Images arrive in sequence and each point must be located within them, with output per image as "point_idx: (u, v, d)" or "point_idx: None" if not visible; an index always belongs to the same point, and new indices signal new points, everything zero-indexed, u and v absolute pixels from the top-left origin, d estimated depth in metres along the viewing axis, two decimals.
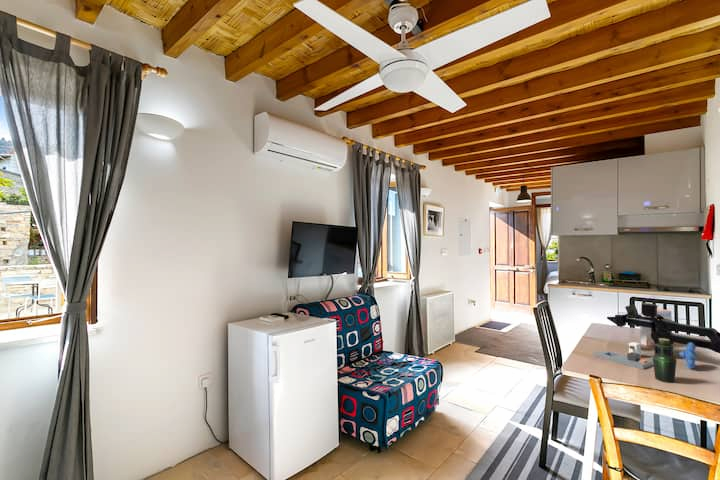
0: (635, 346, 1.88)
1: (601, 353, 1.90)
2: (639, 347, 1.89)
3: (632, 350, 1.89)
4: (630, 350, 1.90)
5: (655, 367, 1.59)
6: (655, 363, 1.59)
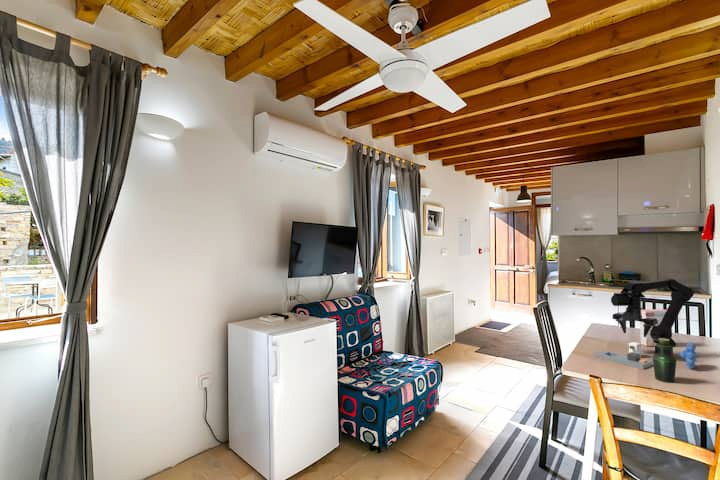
0: (635, 346, 1.88)
1: (601, 353, 1.90)
2: (639, 347, 1.89)
3: (632, 350, 1.89)
4: (630, 350, 1.90)
5: (655, 367, 1.59)
6: (655, 363, 1.59)
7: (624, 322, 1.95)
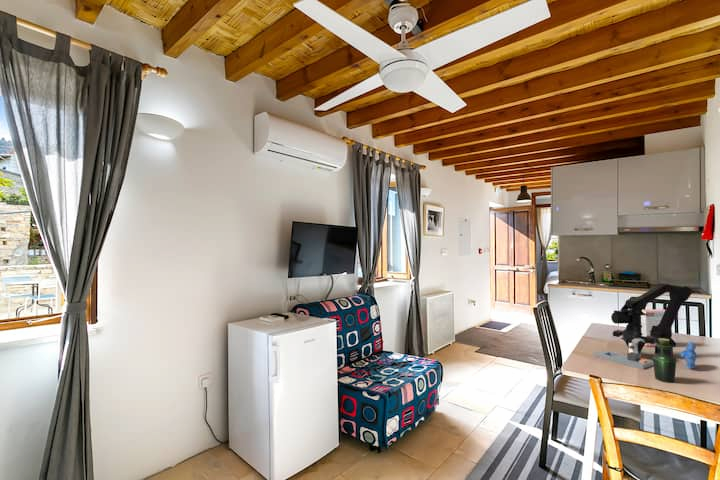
0: (635, 346, 1.88)
1: (601, 353, 1.90)
2: None
3: (632, 350, 1.89)
4: (630, 350, 1.90)
5: (655, 367, 1.59)
6: (655, 363, 1.59)
7: (630, 340, 1.93)
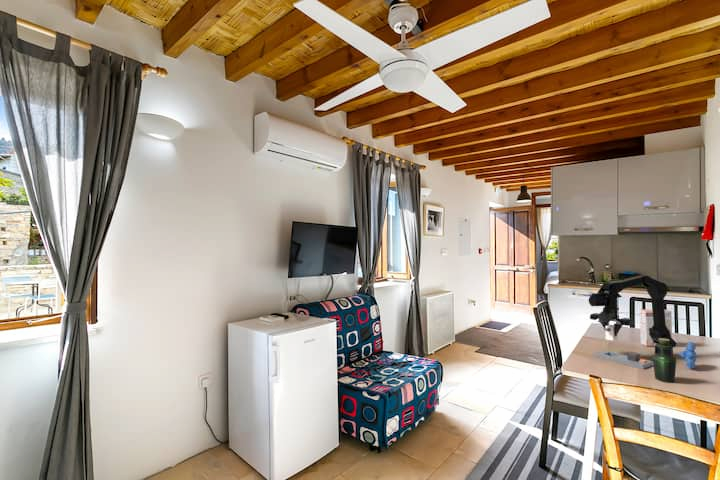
0: (611, 328, 1.86)
1: (601, 353, 1.90)
2: None
3: (608, 333, 1.87)
4: (607, 333, 1.88)
5: (655, 367, 1.59)
6: (655, 363, 1.59)
7: (607, 323, 1.91)
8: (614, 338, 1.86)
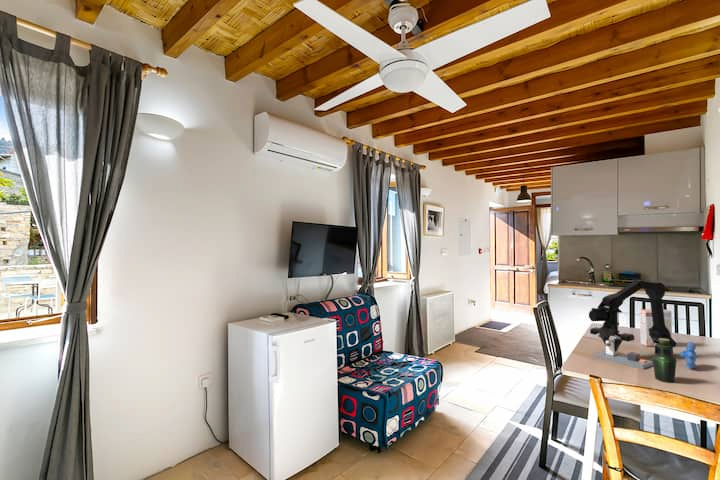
0: (612, 344, 1.86)
1: (601, 353, 1.90)
2: None
3: (609, 348, 1.87)
4: (607, 348, 1.88)
5: (655, 367, 1.59)
6: (655, 363, 1.59)
7: (607, 338, 1.91)
8: (614, 353, 1.86)
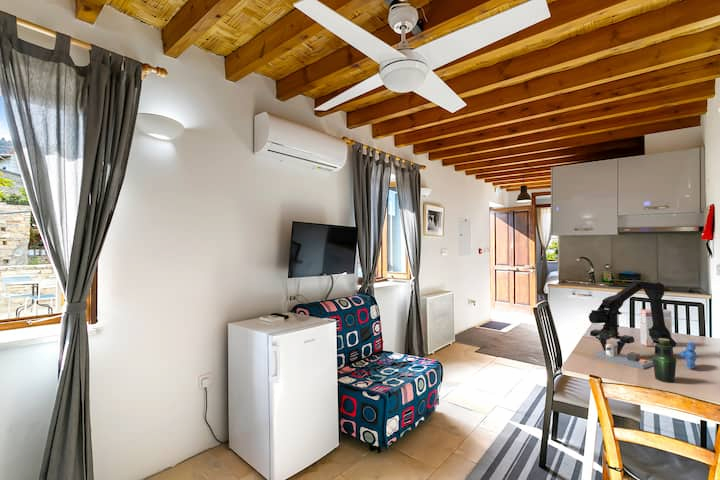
0: (612, 348, 1.86)
1: (601, 353, 1.90)
2: (616, 349, 1.87)
3: (609, 352, 1.87)
4: (607, 352, 1.88)
5: (655, 367, 1.59)
6: (655, 363, 1.59)
7: (604, 339, 1.92)
8: None
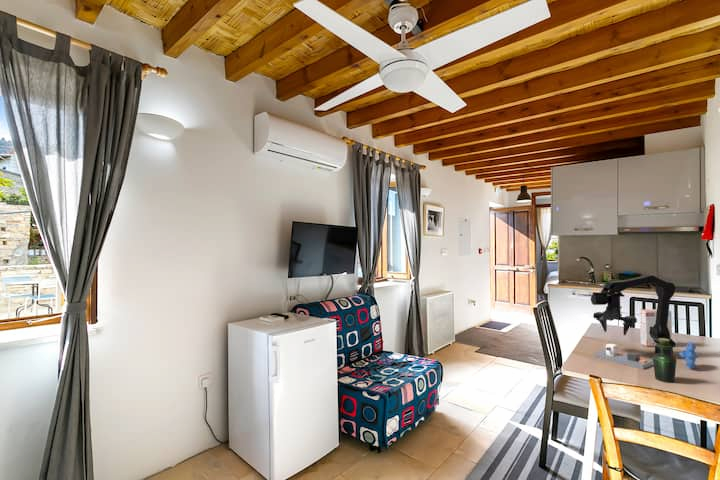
0: (612, 348, 1.86)
1: (601, 353, 1.90)
2: (616, 349, 1.87)
3: (609, 352, 1.87)
4: (607, 352, 1.88)
5: (655, 367, 1.59)
6: (655, 363, 1.59)
7: (604, 321, 1.98)
8: None
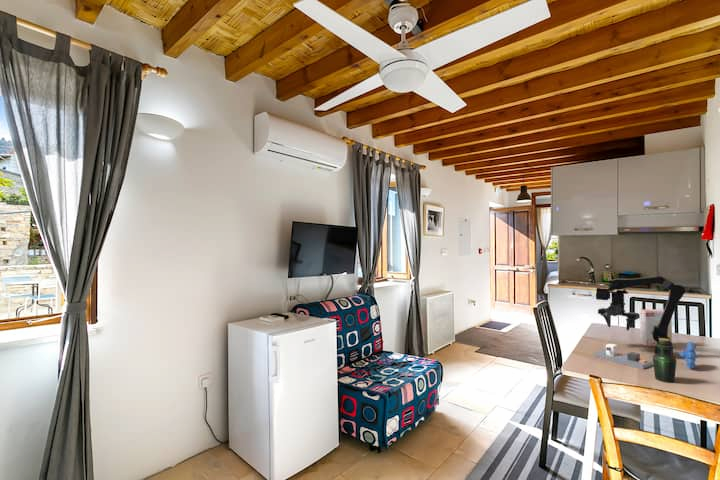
0: (612, 348, 1.86)
1: (601, 353, 1.90)
2: (616, 349, 1.87)
3: (609, 352, 1.87)
4: (607, 352, 1.88)
5: (655, 367, 1.59)
6: (655, 363, 1.59)
7: (609, 317, 2.06)
8: None
